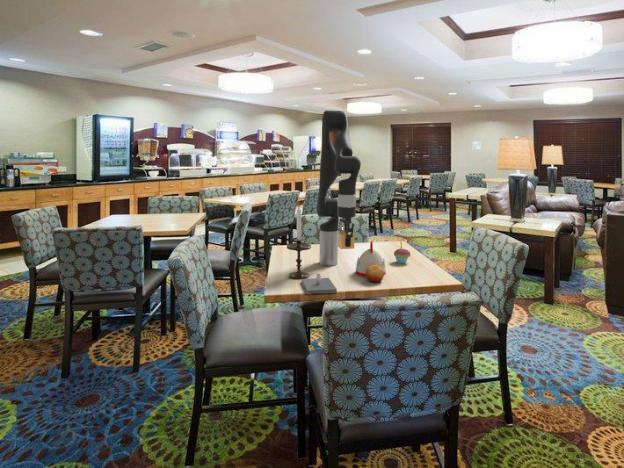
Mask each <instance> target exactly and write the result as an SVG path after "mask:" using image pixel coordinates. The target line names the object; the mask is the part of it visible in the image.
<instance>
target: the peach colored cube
mask: <svg viewBox="0 0 624 468" xmlns="http://www.w3.org/2000/svg"><path fill="white" fill-rule="evenodd" d="M348 234H349V233H348ZM338 249H340V250H350V249H351V250H354V249H355V233H353V237H351V246H350V247H346V246H345V233H344V232H340V231H338Z"/></svg>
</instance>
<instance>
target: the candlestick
mask: <svg viewBox="0 0 624 468" xmlns="http://www.w3.org/2000/svg"><path fill="white" fill-rule="evenodd" d="M300 202H301V201H300V200H299V199H298V200H297V209H296V238H295V239H294V241H295V242H293V243H288V244H286V249H287V250H289V251H295V252H296V253H297V254H296V255H297V258H296V259H295V262H296V265H295V266H296V268H297V270H296V271H292V272H290V273H288V278H290V279H291V280H292V279H293V280H302V279H305V278H306V279H309V277H310V276H309V275H310V274H309V273H308V272H306V271H301V267H302V265H301V263H302V261H303V260H302V258H301V252H302V251H308V250H311V248H312V245H311V244H310V243H305V242H302V241H304V239H303V238H302V209H300V204H301V203H300Z"/></svg>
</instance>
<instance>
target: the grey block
mask: <svg viewBox="0 0 624 468" xmlns="http://www.w3.org/2000/svg"><path fill="white" fill-rule="evenodd" d="M315 275H316V276H315V277H313V278H306V279H301V284H302V286H303V285H304V286H303V288H304V287H305V288H304V290H305V289H306V290H305V292H306V291H307V292H306V294H307V293H322V294H337V292H338V289H337V288H336V286H335V285H334V283H333V282H332V280H331V279H330V278H329V277H322V275H321V272H320V273H319V272H317V273H316V274H315Z"/></svg>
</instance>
